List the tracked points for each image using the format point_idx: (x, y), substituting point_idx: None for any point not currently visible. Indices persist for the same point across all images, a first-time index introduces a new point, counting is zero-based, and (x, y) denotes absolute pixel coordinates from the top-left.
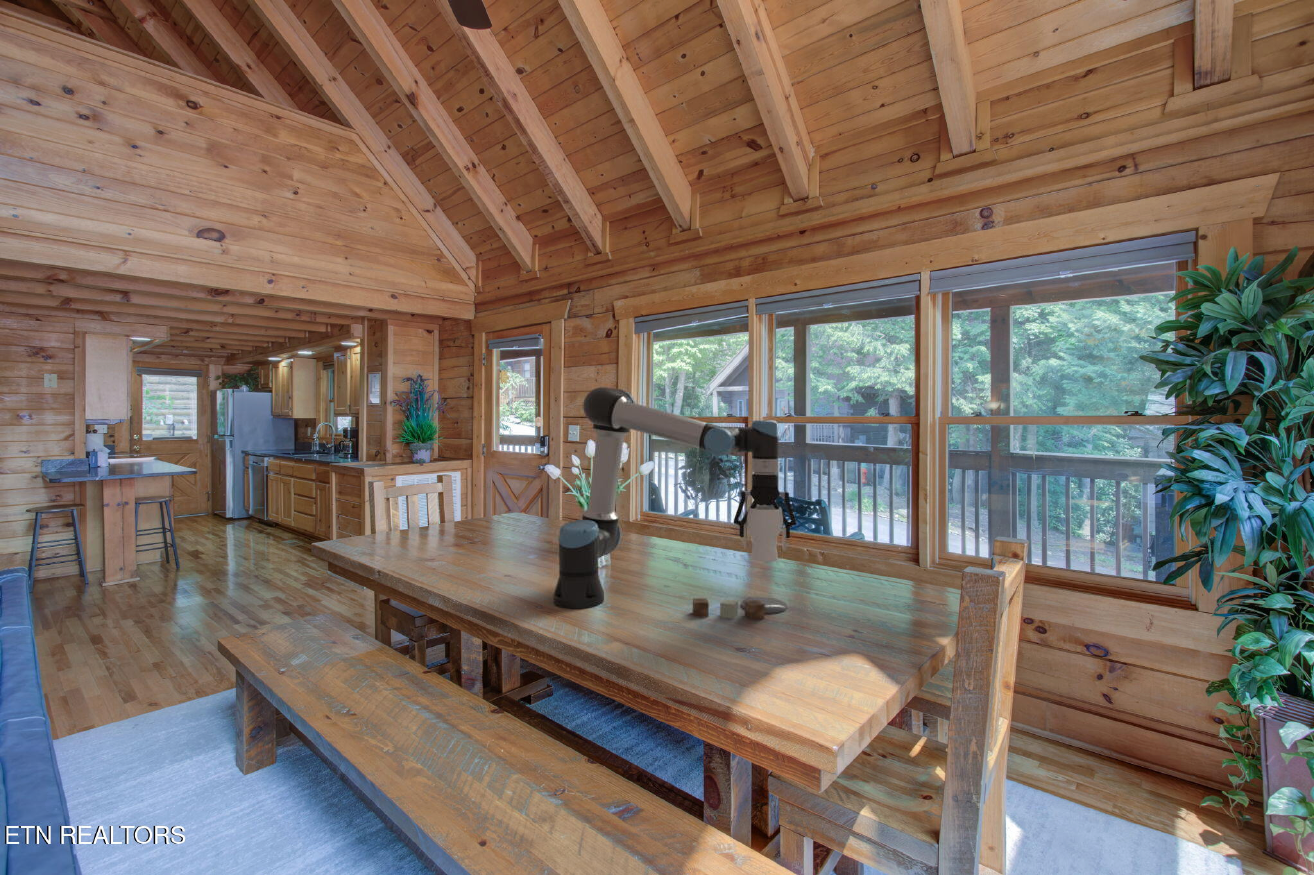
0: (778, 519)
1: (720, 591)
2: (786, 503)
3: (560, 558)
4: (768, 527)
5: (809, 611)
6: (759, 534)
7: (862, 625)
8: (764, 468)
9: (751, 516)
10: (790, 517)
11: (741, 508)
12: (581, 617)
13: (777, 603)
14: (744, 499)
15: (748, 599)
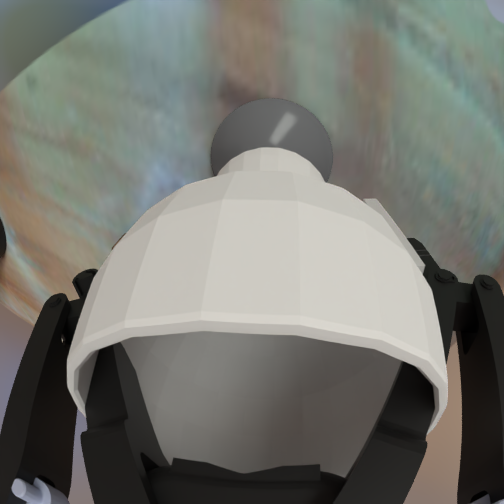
0: (359, 414)
1: (141, 60)
2: (466, 473)
3: None
4: (289, 392)
5: (383, 176)
6: (239, 346)
7: (454, 245)
8: None
9: (168, 422)
10: (461, 368)
11: (69, 422)
12: (22, 284)
13: (308, 149)
14: (64, 488)
15: (226, 131)
